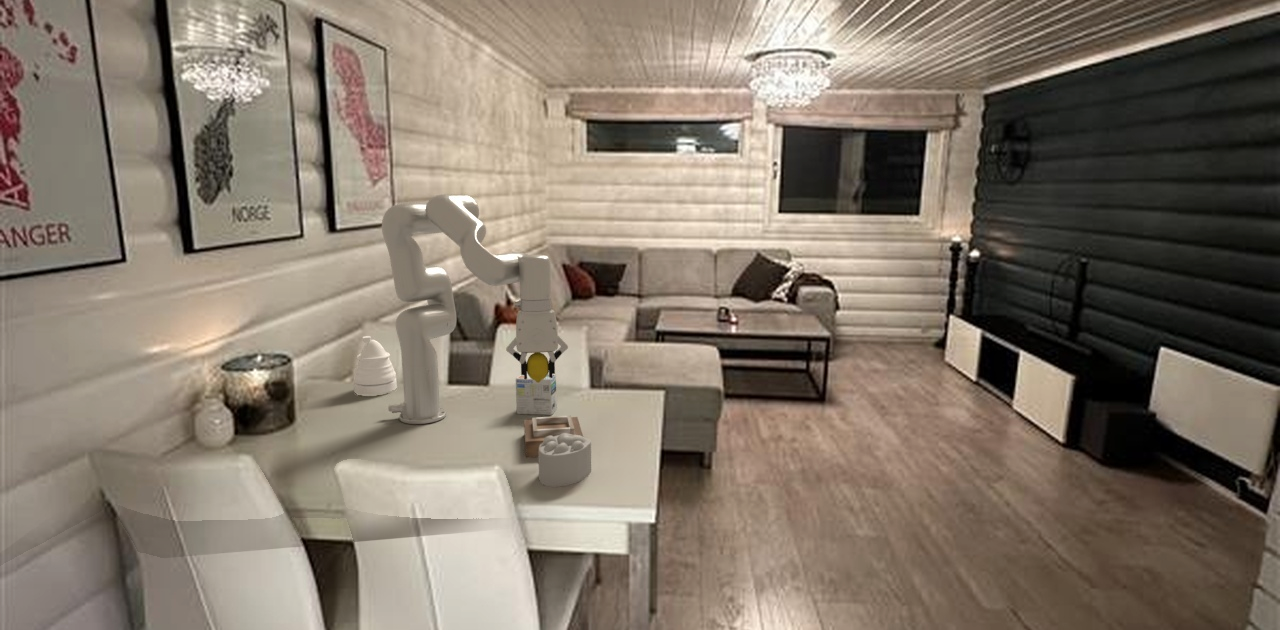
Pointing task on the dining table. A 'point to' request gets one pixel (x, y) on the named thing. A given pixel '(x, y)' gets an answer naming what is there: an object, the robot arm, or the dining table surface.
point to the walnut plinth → (547, 430)
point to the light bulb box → (536, 395)
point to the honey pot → (374, 369)
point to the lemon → (537, 366)
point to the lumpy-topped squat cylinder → (564, 459)
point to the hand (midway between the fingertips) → (538, 376)
